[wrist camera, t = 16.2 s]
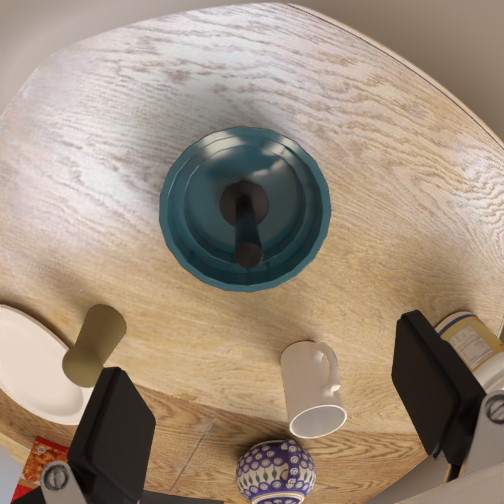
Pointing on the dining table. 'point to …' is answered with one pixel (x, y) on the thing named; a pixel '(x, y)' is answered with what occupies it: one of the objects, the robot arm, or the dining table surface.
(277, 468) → the teapot
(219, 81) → the dining table surface
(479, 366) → the supplement tub
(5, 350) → the plate
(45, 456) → the pasta box
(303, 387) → the mug
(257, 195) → the black post stand
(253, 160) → the bowl
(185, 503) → the architectural model
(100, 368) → the olive pawn
